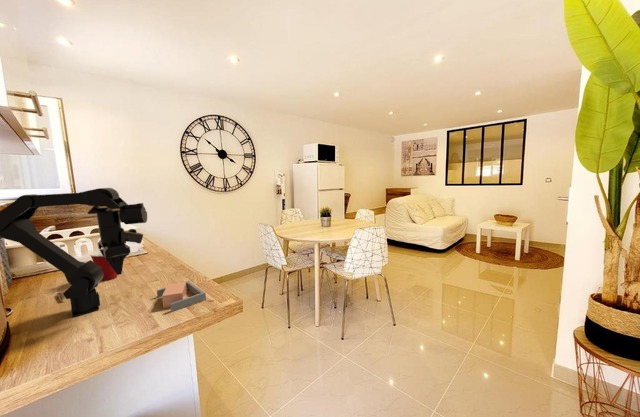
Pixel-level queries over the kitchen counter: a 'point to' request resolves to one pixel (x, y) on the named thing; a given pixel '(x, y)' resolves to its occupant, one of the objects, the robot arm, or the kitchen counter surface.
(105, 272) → the plastic cup
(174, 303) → the grey u-shaped bracket
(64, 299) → the shard
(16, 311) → the kitchen counter surface
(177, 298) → the salmon pink block
